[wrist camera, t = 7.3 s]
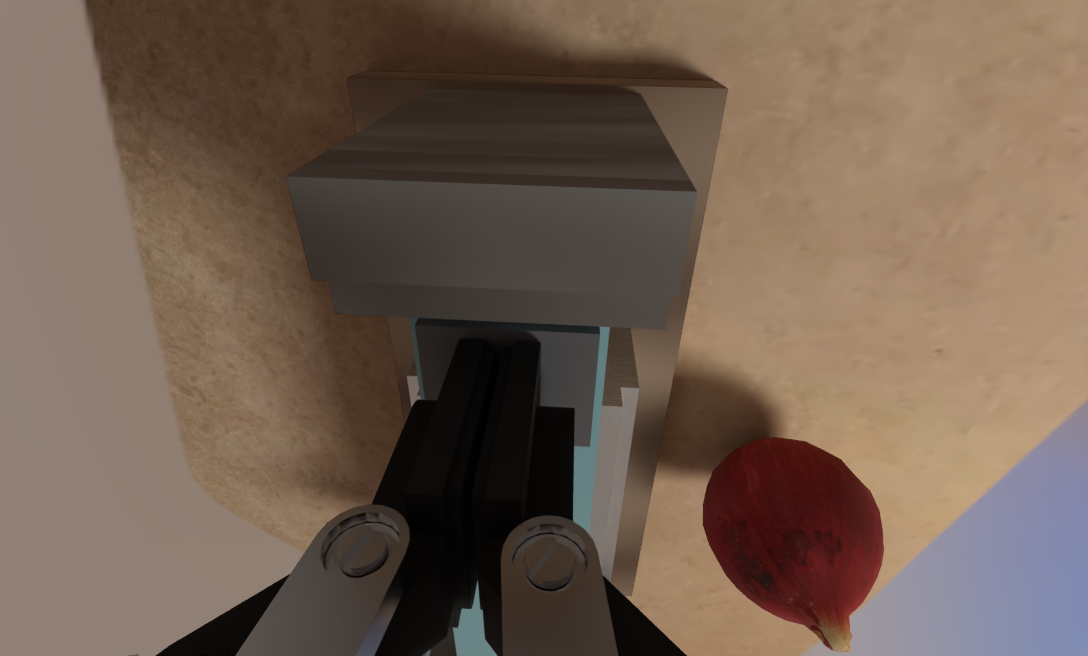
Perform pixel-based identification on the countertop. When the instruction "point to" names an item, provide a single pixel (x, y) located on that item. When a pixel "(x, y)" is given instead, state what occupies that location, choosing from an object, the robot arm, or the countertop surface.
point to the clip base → (521, 221)
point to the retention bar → (565, 382)
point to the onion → (795, 533)
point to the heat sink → (604, 441)
